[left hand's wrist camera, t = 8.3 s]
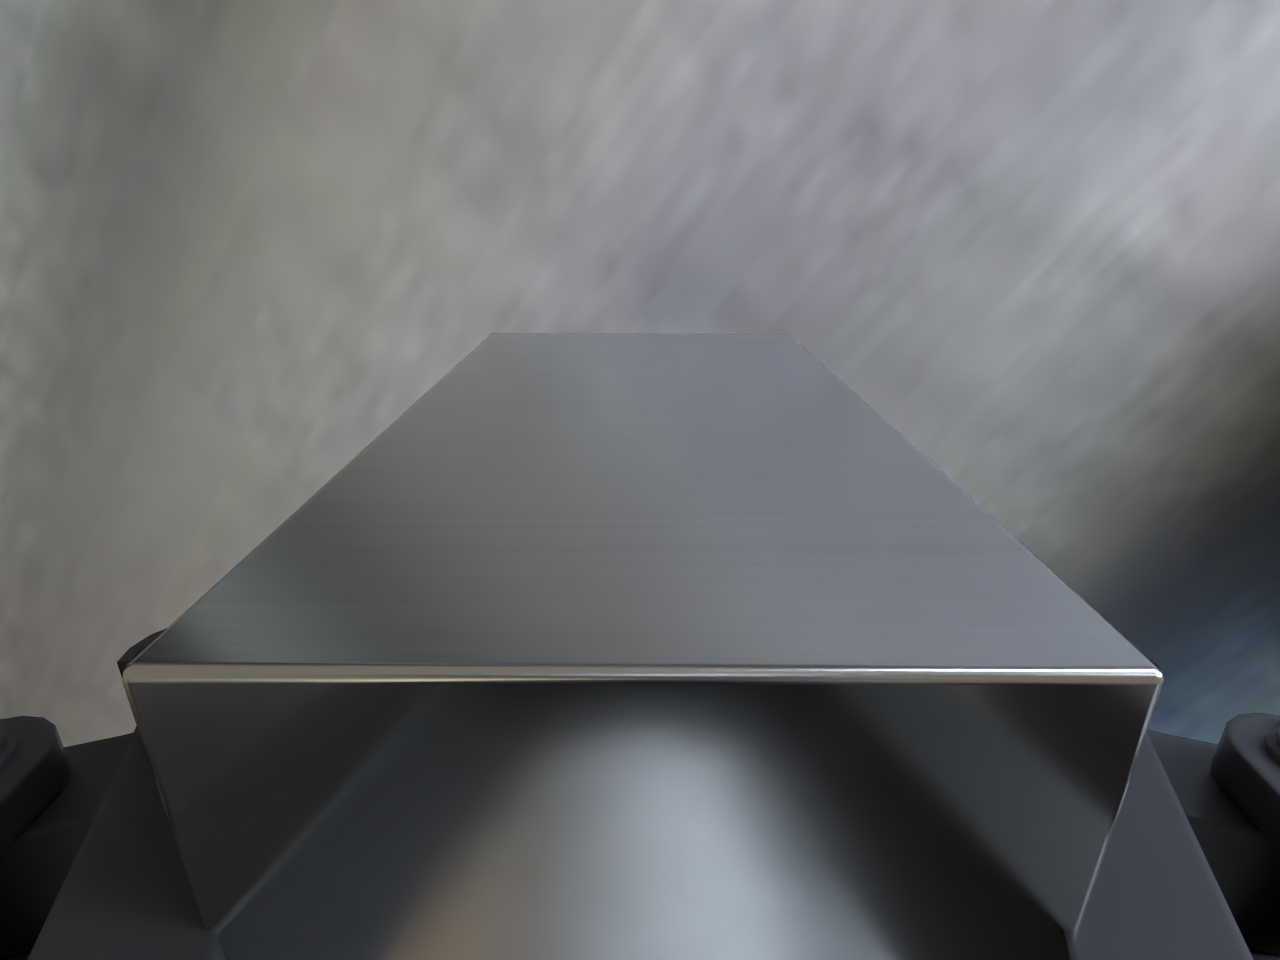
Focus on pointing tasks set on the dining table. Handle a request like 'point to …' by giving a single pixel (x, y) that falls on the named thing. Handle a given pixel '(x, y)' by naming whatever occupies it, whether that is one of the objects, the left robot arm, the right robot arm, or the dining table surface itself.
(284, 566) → the long box
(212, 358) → the dining table surface
